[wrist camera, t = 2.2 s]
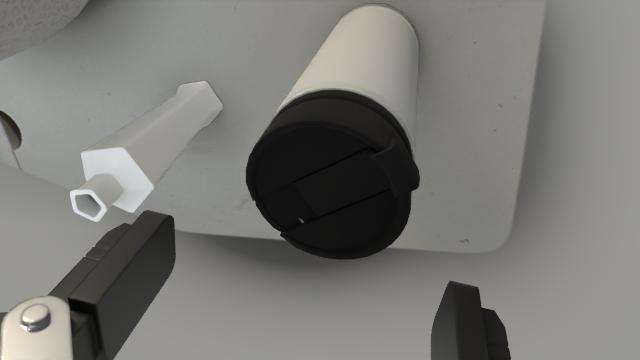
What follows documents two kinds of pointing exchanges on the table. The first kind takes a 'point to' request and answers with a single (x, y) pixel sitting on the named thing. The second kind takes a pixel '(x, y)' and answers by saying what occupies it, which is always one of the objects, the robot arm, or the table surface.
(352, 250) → the travel mug
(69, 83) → the table surface
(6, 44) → the planter
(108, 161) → the perfume bottle
